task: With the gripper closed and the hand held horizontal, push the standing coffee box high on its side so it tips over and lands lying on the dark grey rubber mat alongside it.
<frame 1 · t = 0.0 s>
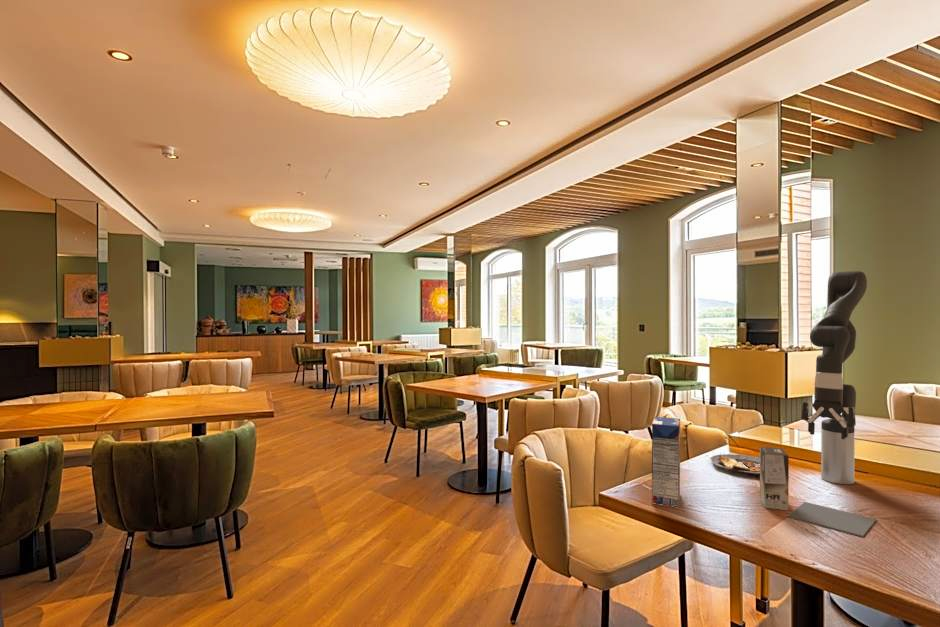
hand: (827, 436, 164), 17 cm above the table, tool pointing down, fingers open, 8 cm apart
rubber mat: (831, 518, 140), on the table
coffee box: (773, 504, 151), on the table
juice carton: (666, 500, 154), on the table
food plate: (746, 469, 186), on the table
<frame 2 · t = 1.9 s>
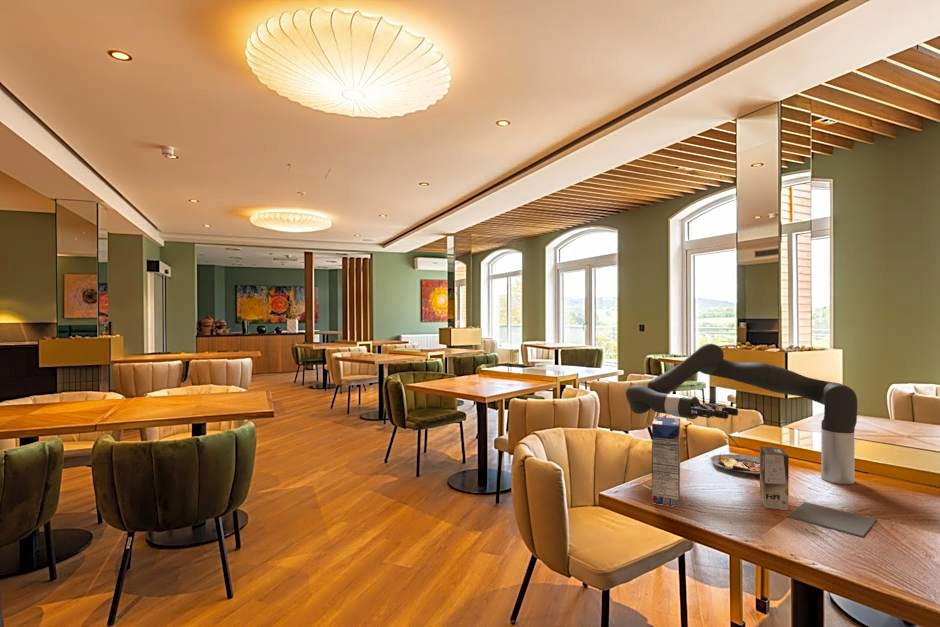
hand: (732, 413, 160), 25 cm above the table, tool horizontal, fingers open, 7 cm apart
nothing on the table moved.
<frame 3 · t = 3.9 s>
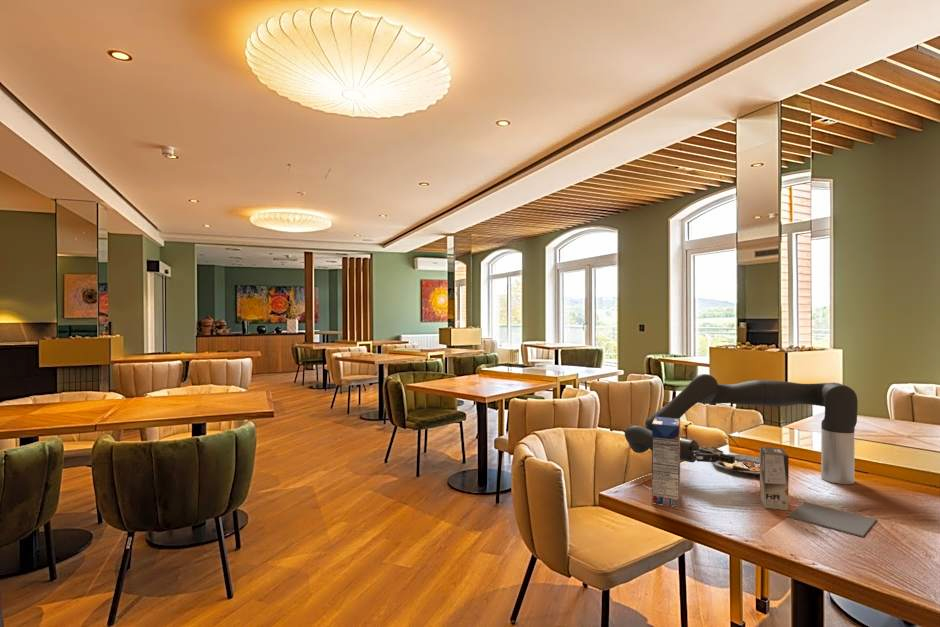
hand: (734, 460, 159), 11 cm above the table, tool horizontal, fingers closed
nothing on the table moved.
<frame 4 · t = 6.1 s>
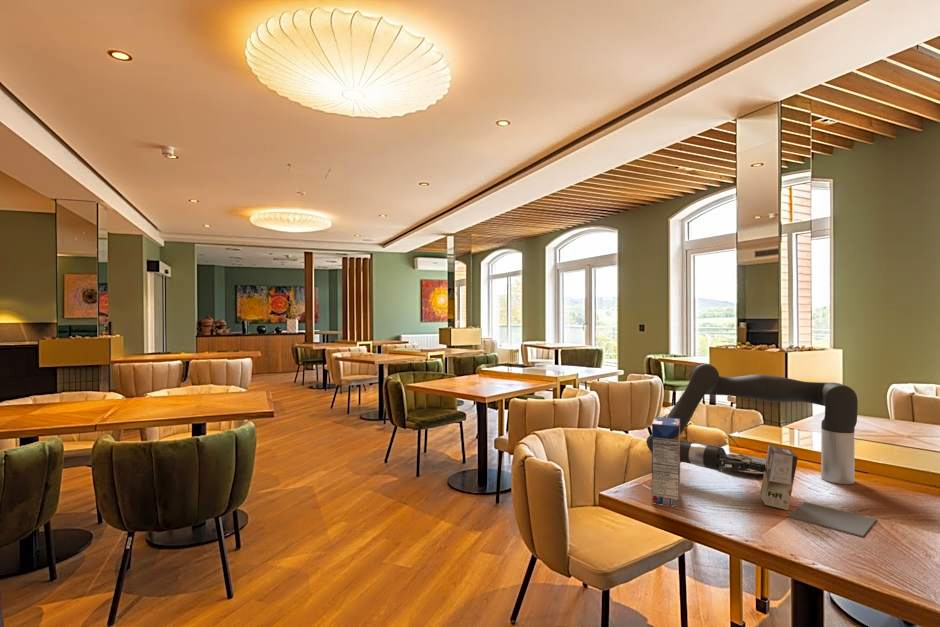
hand: (764, 468, 153), 10 cm above the table, tool horizontal, fingers closed
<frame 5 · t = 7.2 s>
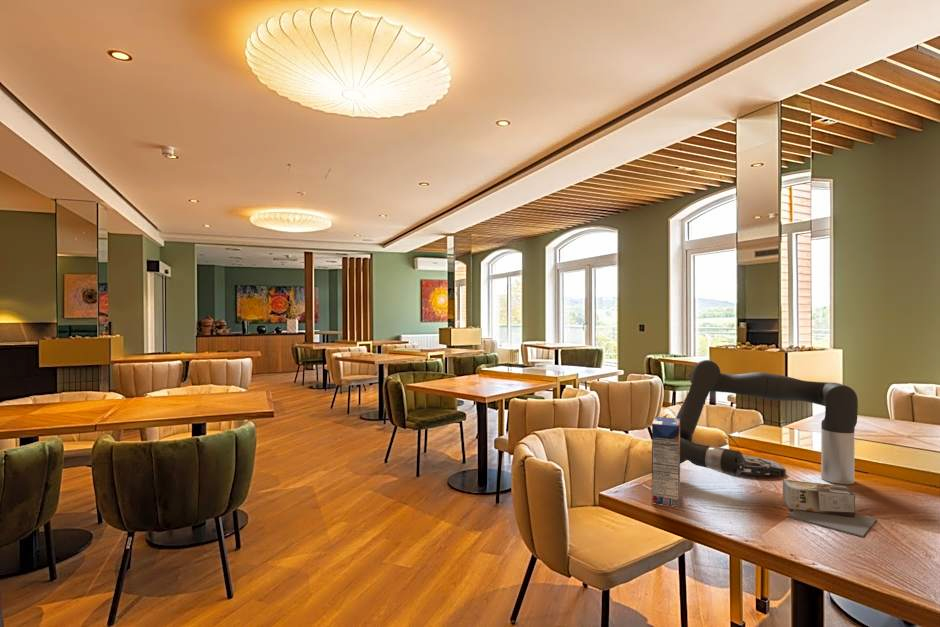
hand: (784, 473, 149), 10 cm above the table, tool horizontal, fingers closed
coffee box: (784, 493, 150), point 4 cm above the table, touching rubber mat
everything else where it was.
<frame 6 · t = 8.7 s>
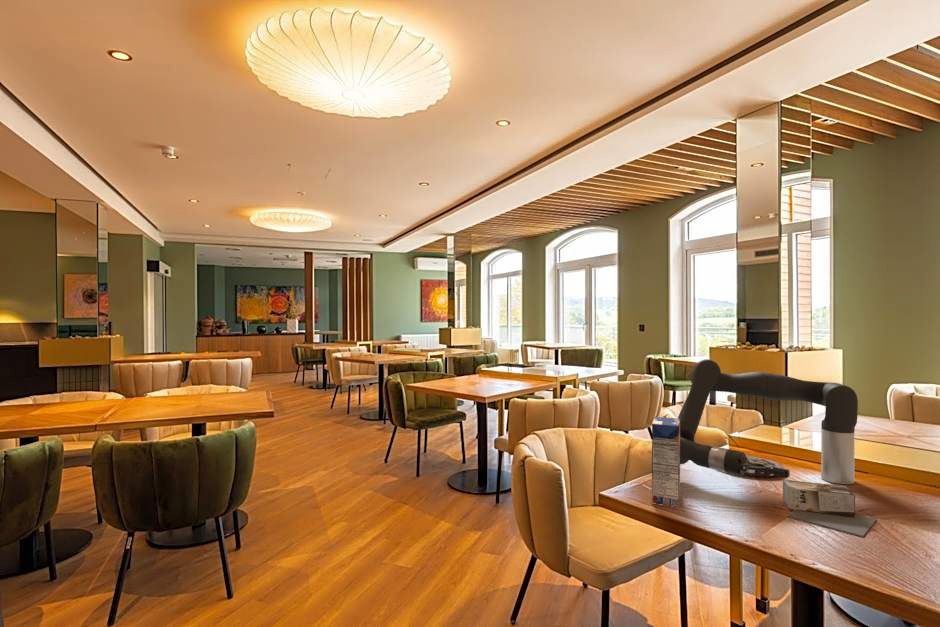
hand: (788, 473, 148), 10 cm above the table, tool horizontal, fingers closed
nothing on the table moved.
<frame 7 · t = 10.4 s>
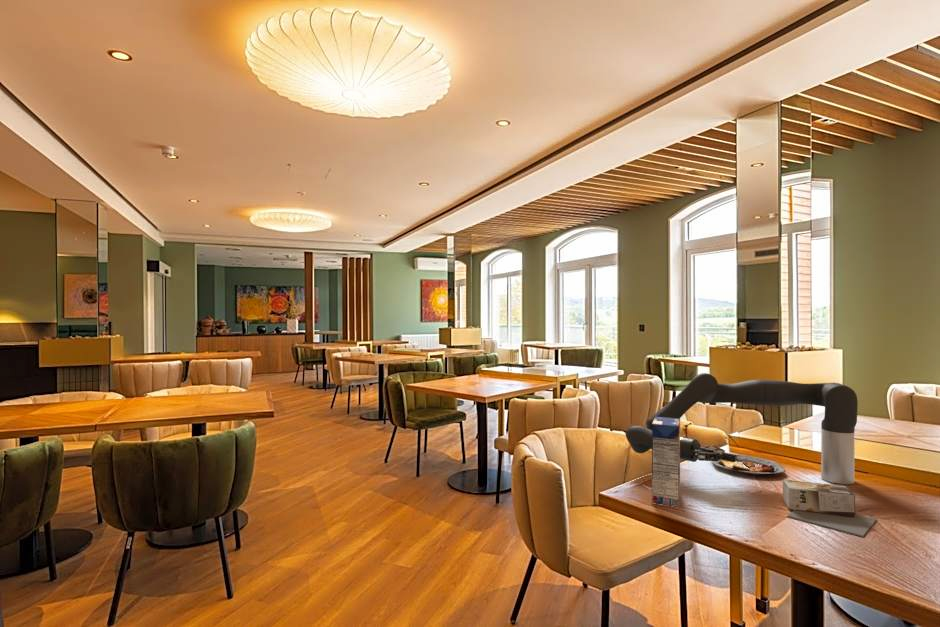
hand: (735, 458, 159), 11 cm above the table, tool horizontal, fingers closed
nothing on the table moved.
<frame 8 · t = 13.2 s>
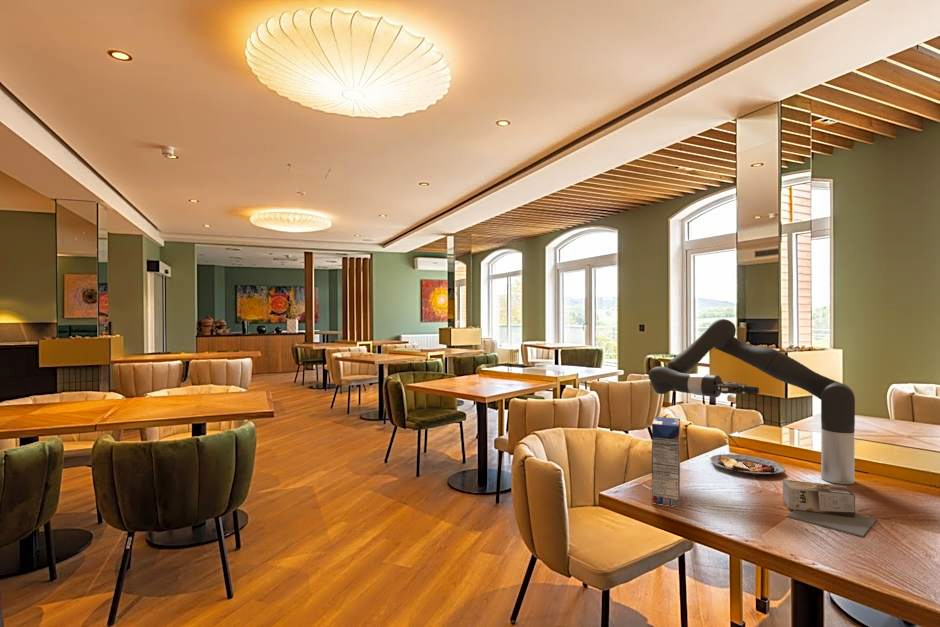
hand: (758, 390, 164), 32 cm above the table, tool horizontal, fingers closed
nothing on the table moved.
at the end: coffee box tilted 90°; coffee box inside the target area (13.5 cm from its centre), point 3.6 cm above the table; the gripper is holding nothing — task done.
